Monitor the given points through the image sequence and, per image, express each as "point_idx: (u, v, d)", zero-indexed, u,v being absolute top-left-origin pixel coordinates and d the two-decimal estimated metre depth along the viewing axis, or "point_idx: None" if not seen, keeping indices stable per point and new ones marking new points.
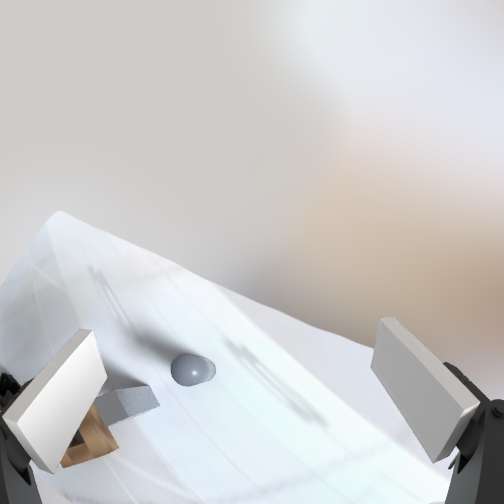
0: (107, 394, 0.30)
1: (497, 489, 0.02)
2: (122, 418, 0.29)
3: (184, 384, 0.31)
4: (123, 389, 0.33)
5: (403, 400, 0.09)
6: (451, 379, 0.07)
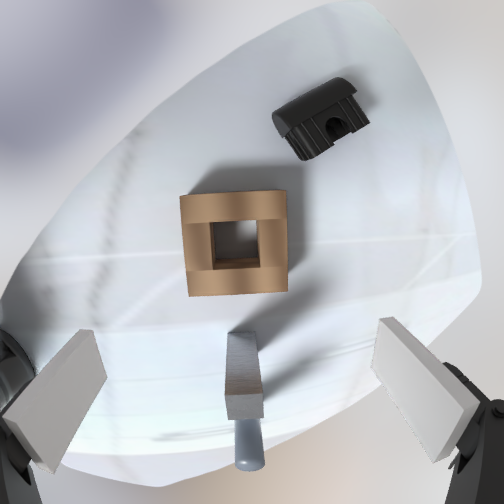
0: (260, 410, 0.28)
1: (497, 489, 0.02)
2: (228, 413, 0.28)
3: (239, 460, 0.30)
4: None
5: (403, 400, 0.09)
6: (451, 379, 0.07)
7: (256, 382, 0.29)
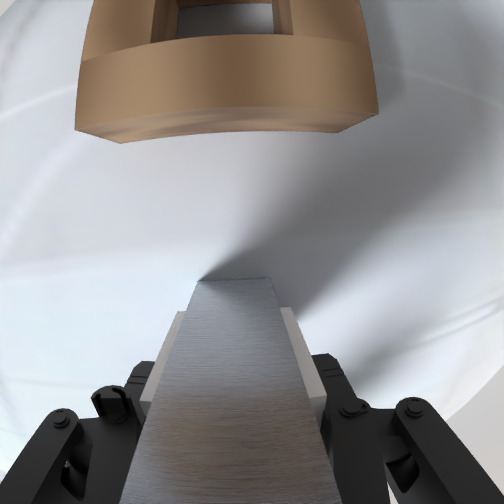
0: None
1: (363, 498, 0.04)
2: None
3: None
4: None
5: None
6: (308, 368, 0.09)
7: (302, 468, 0.04)
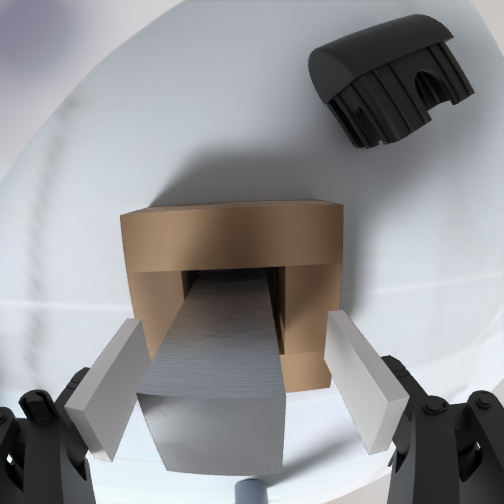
0: (273, 455, 0.07)
1: (437, 491, 0.03)
2: (164, 455, 0.07)
3: None
4: None
5: (346, 391, 0.10)
6: (383, 371, 0.08)
7: (261, 356, 0.09)
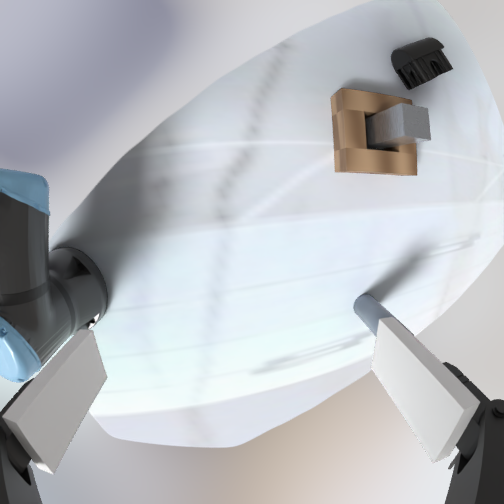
0: (428, 129, 0.27)
1: (497, 489, 0.02)
2: (405, 127, 0.27)
3: None
4: (417, 142, 0.30)
5: (403, 400, 0.09)
6: (451, 379, 0.07)
7: None
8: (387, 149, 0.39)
